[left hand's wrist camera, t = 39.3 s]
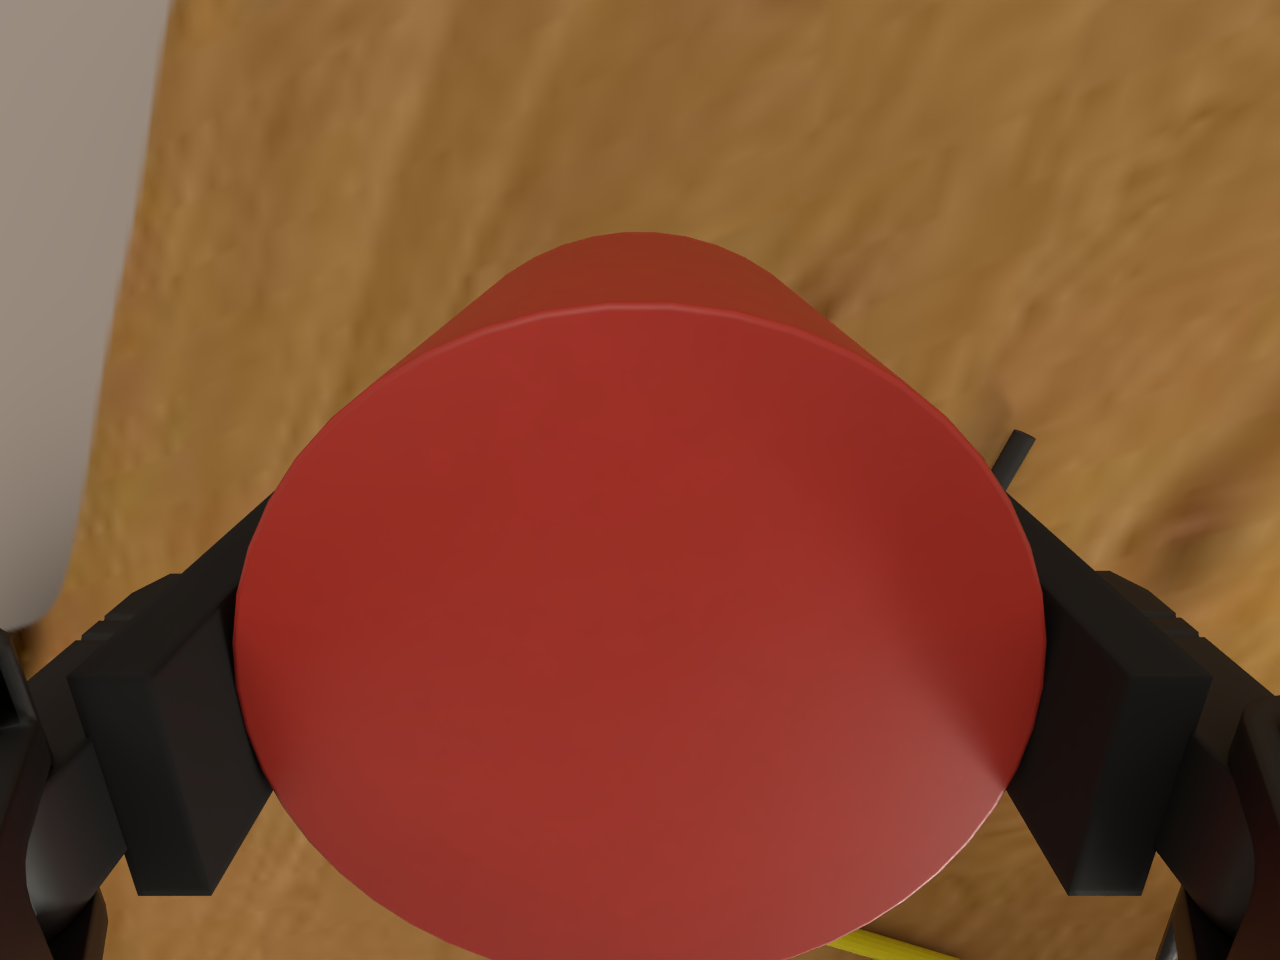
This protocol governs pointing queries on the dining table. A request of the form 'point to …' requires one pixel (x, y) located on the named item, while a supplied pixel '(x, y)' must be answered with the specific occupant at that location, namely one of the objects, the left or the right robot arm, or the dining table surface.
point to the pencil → (885, 947)
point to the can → (639, 621)
